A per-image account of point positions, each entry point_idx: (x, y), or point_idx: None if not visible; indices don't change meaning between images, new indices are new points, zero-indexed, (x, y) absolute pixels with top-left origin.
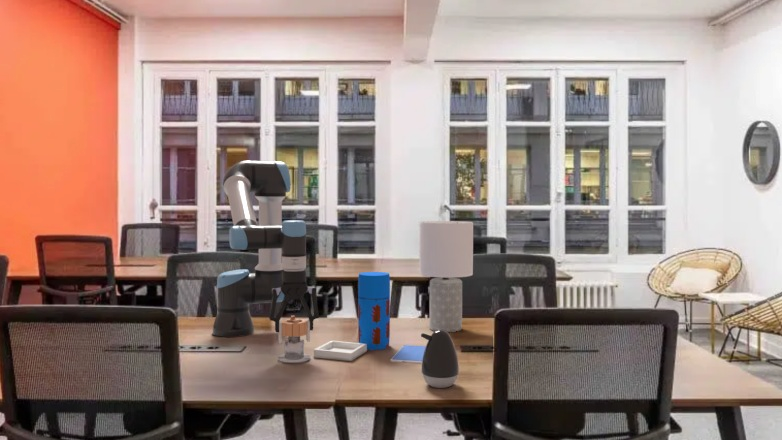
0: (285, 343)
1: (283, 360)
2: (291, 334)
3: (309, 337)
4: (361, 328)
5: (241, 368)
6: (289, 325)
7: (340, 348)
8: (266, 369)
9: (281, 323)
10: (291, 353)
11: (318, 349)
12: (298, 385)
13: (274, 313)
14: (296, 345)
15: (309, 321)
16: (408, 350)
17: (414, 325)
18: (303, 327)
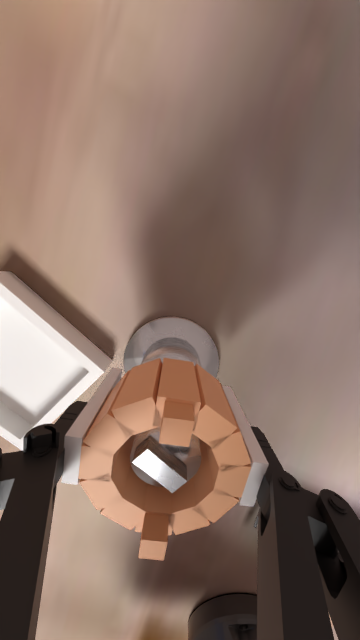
0: None
1: (212, 340)
2: (199, 370)
3: (107, 376)
4: None
5: (331, 334)
6: (217, 406)
7: (14, 402)
8: (276, 295)
9: (252, 457)
10: (188, 348)
11: (89, 366)
12: (252, 57)
13: (351, 557)
14: (172, 354)
15: (68, 433)
16: None
17: None
18: (127, 388)
